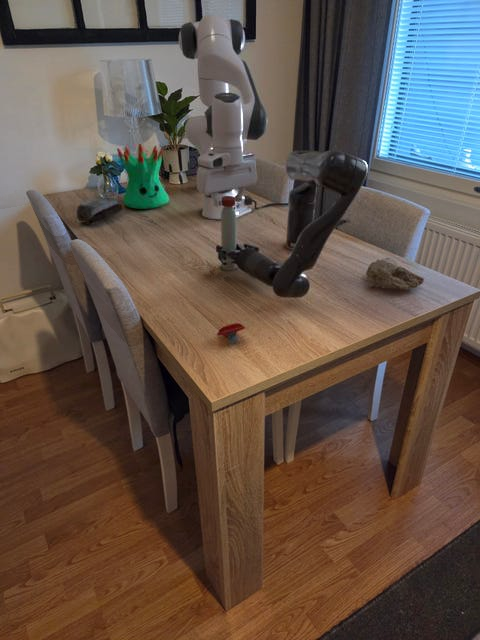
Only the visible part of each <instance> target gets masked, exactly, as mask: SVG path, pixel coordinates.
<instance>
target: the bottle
mask: <svg viewBox="0 0 480 640" xmlns="http://www.w3.org/2000/svg"><path fill="white" fill-rule="evenodd" d="M220 238H221V240H220V241H221V242H220V243H221V244H220V246H221V247H223V248H224V249H227V250H228V249H232V250H236V243H237V218H236V212H235V209H234V208H233V206H232V207H225V206H224V208H223V210H222V212H221V219H220ZM225 253H226V252H225ZM226 255H227V253H226ZM221 268H222V269H223V270H226V271H233V270H235V269H237V265H236V264H234V263H232V262H227V265H223V264H222V263H221Z"/></svg>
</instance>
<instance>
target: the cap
mask: <svg viewBox="0 0 480 640" xmlns="http://www.w3.org/2000/svg"><path fill="white" fill-rule="evenodd" d="M222 206H225V207H232V206H235V197H233V196H224V197H222Z"/></svg>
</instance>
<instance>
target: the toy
mask: <svg viewBox="0 0 480 640" xmlns="http://www.w3.org/2000/svg"><path fill="white" fill-rule="evenodd" d="M116 149H117V150H116V151H117V153H118V157H119V159H120V162H121V164H122V165H121V166H122V167H123V169H124V171H126V173H127V178H128V180H127V184H126V190H125V192H124V195H123V198H122V203H123V204H124V205H125V206H126V207H128V208H130V209H136V210H138V209H139V210H146V209H156V208H158V207H162V206H164V205H166V204H167V203H168V202H169V201H170V197H169V195H168V193H167V192H166V190H165V189H164V186H163V184H162V182H161V181H160V176H159V175H160V174H159V172H160V169H161V165H162V161H163V147H161V148H160V150H159V153H158V147H157V146H156V145H154V147H153V148H152V151H151V153H150V156H149V157H147V156H146V154H145V151H144V148H143V145H142V143H141V142H140V143H139V144H138V150H137V156H136V157H134V156H133V155H132V153H131V151H130V150H129V148H128V147H127V146H126V145H124V151H123V153H122V150H121V149H120V148H116Z"/></svg>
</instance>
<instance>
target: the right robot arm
mask: <svg viewBox="0 0 480 640" xmlns="http://www.w3.org/2000/svg"><path fill="white" fill-rule="evenodd" d="M285 160H286V161H285V172H286V175H287V177H288V178H289V180H291V181H302V182H303V184H301V185H299V186H297V187H295V188H293V189H291V190H290V191H289V192H288V202H287V203H288V205H287V220H286V221H287V222H286V236H285V248H286V249H287V250H290V251H291V253H290V254H289V256H288V257H287V258H286V259H285V260H284V262H282V264H281V263H280V264H279V263H278V262H276V261H275V260H273V259H271V258H269V257H268V256H267V255H266V254H264V253H262V252H260V248H259V247H257V246H255V245H252V244H249V243H243V244H242V243H241V244H240V243H237V242H236V250H232V249H228V250H227V249H224V248H223V247H222V246H221V244H220V245H219V244H218V245H216V246H215V252H216V253H217V259H218V260H219V261H220V263H221V265H222V264H223V265H227V262H232V263H234V264H236V267H237V268H238V269H239V271H242V272H243V273H245V274H246V275H248V276H250V277H251V278H253V279H255V280H258V281H260V282H261V283H262V284H264V285H266V286H269V287H272V291H273V293H274V294H275V296H277V297H279V298H290V299H291V298H292V299H293V298H295V299H299V298H302V297H304V296H306V295H307V294H308V293H309V290H310V285H311V284H310V281H309V278H308V277H307V276H306V274H304V272H306V271H309V270H312V269H313V268H314V267H315V265H316V264H317V261H318V259H319V257H320V255H321V253H322V251H323V249H324V247H325V245H326V244H327V242H328V240H329V238H330V236H331V234H332V233H333V231H334V230H335V229H336V227H337V226H339V225H340V224H341V223H342V222H344V223H347V220H346V219H345V218H343V217H344V215H345V214H346V212H347V210H348V209H349V207H350V206H351V204H352V203H353V201H355V198H356V197H357V196H358V193H359V192H360V190H361V188H363V185H364V183H365V181H366V177H367V174H368V164H367V162H366V161H365V160H363V159H362V158H359V157H356V156H354V155H352V154H349V153H347V152H344V151H342V150H339V149H330V150H326V151H320V150H294V151H291V152H290V153H289V154H288V156H287V157H286V159H285ZM318 187H321V188H322V189H325V190H328V191H330V192H333V193H335V194H337V195H338V197H337V199H335V201H334V203H333V204H332V205H331V206H330V207H329V208H328V209H327V210H326V211H325V212H324V213H322V214H321V215H320V216H318V217H317V218H315V210H316V200H317V192H318ZM225 252H226V253H227V255H226V253H225Z"/></svg>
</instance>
